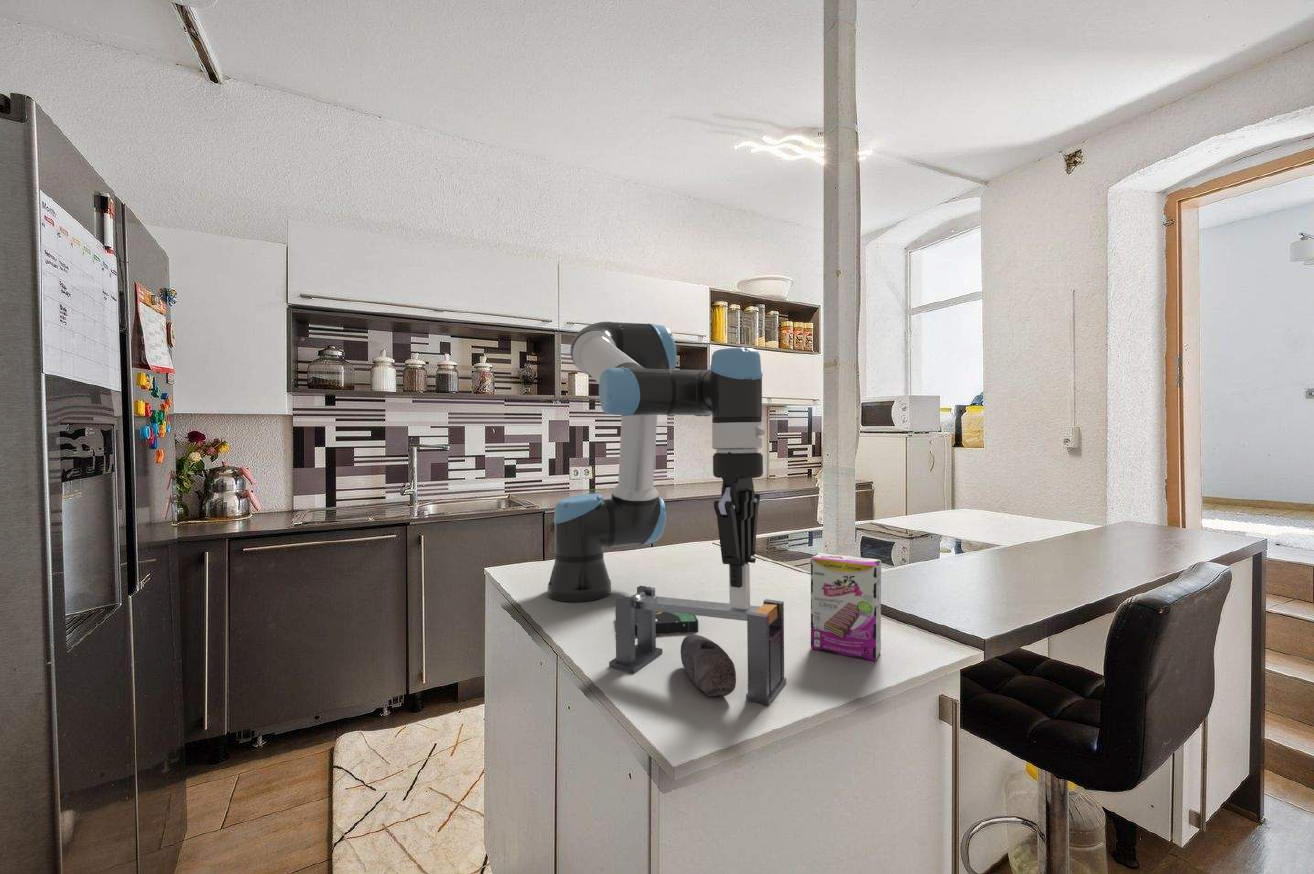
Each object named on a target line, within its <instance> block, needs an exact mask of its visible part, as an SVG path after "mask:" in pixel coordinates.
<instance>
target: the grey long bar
mask: <svg viewBox="0 0 1314 874" xmlns="http://www.w3.org/2000/svg"><path fill="white" fill-rule="evenodd" d="M630 597H631V598H635V609H645V610H653V611H662V612H671V613H680V614H689V615H695V616H698V617H699V616H700V617H709V618H717V619H726V620H734V621H745V622H747V614H748V613H749V612H755V613H761V614H767V615H769V625H770V624H771V623H772V622H773V621H774V620H775V619H776V618H777V617H778V611H777V605H772V604H764V605H759V606H758V605H750V607H749V608H748V609H741V608H735V607H730V602H729V603H726V602H717V601H706V600H698V599H697V600H695V599H687V598H685V599H684V598H677V597H675V598H674V597H665V596H657V595H655V596H647V594H646V593H645V592H639V593H637V592H636V593H635V594H633V595H631V596H630Z"/></svg>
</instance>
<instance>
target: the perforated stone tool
mask: <svg viewBox="0 0 1314 874" xmlns="http://www.w3.org/2000/svg"><path fill="white" fill-rule="evenodd" d="M680 660H681V665H682V667H683V670H684V671H685V673H686V674H687V675H688V677H689V678H690V679H691V681H692V683H694V685H695V687H697V688H698V690H701V691H703V692H704V694H705V695H706V696H707V697H713V698H714V697H718V696H721V697H722V696H723V697H726V696H728V695H730V694H731V693H733V692H734V691H735V688H736V684H737V676H736V675H737V674H736V673H737V672H736V671H737V670H736V667H735V664H734V662H733V660H732V658H731V657H730V656H729V654H728V653H727V652H726V651H725V650H724V649H723V648H722V647H721V646H720V645H718V644H717V643H716V642H715V641H712V640H711V639H709V638H707V637H705V636H702V635H699V634H694V633H693V634H691V633H690V634H688V635H686V636H685V637H684V638H683V639H682V642H681V644H680Z"/></svg>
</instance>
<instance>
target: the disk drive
mask: <svg viewBox="0 0 1314 874" xmlns="http://www.w3.org/2000/svg"><path fill="white" fill-rule="evenodd" d="M655 622H656V635H663V634H664V635H667V634H684V633H685V634H687V633H698V632H699V619H698V618H697V615H689V614H680V613H671V612H662V611H655ZM636 636H637V609H635V637H636Z"/></svg>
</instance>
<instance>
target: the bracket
mask: <svg viewBox="0 0 1314 874" xmlns="http://www.w3.org/2000/svg"><path fill="white" fill-rule="evenodd" d="M639 592H645V593H646V594H647V596H656V588H655V587H652V586H651V587H650V586H645V585H638V586H637V587H636V594H637V593H639ZM614 601H615V603H614V604H615V606H614V608H615V611H614V612H615V613H614V614H615V657H614V658H613V659H611V660H610V661H609V662H608V667H609V668H612V669H617V670H619V671H623V672H628V673H631V674H636V673H637V672H638V671H640V670H641V669H643V668H644V667H646V666H647V665H648V664H650V663H651V662H653V661H654V660H655V659H657V658H658V657H660V656H661V655H663V652H664V651H663V648H660V647H657V644H656V643H657V642H656V641H657V640H656V639H657V638H656V637H657V636H656V635H657V634H656V622H655V611H653V610H645V609H637V644H636V636H635V598H631V596H626V595H625V596H624V595H620V594H619V595H617V596H616V597H615V599H614Z"/></svg>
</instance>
